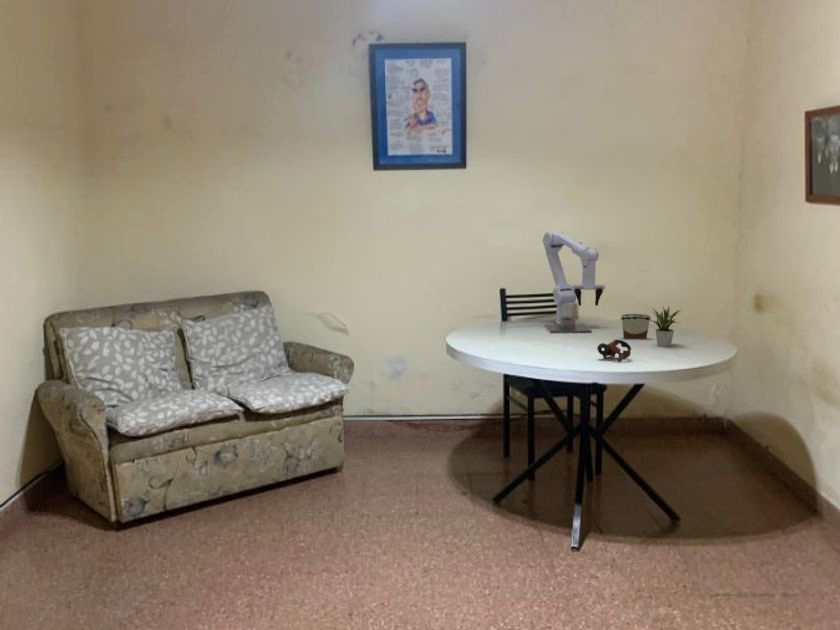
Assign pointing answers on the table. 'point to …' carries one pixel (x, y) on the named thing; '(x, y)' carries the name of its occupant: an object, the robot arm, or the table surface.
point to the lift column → (567, 310)
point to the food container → (635, 326)
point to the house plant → (664, 327)
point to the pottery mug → (614, 349)
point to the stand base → (567, 327)
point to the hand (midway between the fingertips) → (588, 305)
